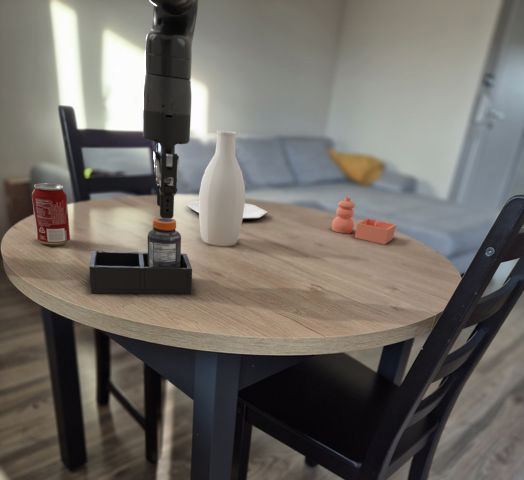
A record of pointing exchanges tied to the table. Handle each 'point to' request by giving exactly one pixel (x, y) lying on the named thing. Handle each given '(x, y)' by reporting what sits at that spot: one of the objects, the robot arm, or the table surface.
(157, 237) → the pill bottle
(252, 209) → the plate
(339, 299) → the table surface
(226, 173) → the bottle
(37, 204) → the soda can
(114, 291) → the bottle rack
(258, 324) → the table surface
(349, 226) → the pottery
